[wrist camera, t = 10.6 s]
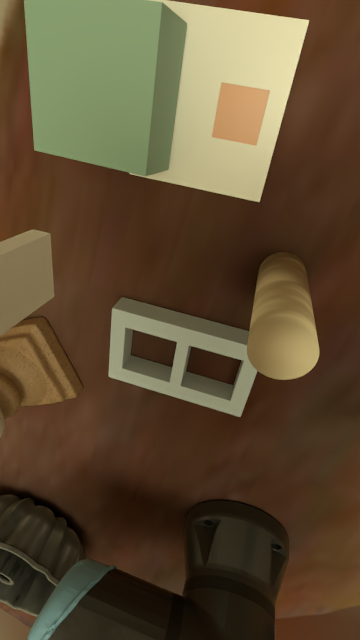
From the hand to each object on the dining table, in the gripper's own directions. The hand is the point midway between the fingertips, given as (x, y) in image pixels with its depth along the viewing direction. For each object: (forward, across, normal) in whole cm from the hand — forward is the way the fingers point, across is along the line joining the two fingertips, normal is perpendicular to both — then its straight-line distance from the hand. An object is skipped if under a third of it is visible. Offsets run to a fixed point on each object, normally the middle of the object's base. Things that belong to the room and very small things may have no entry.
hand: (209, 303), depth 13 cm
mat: (+18, +4, -6) cm, 19 cm away
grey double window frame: (+18, +3, +16) cm, 24 cm away
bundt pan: (+20, +26, +66) cm, 74 cm away
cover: (+17, +11, -7) cm, 22 cm away
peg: (+18, -4, +5) cm, 19 cm away
